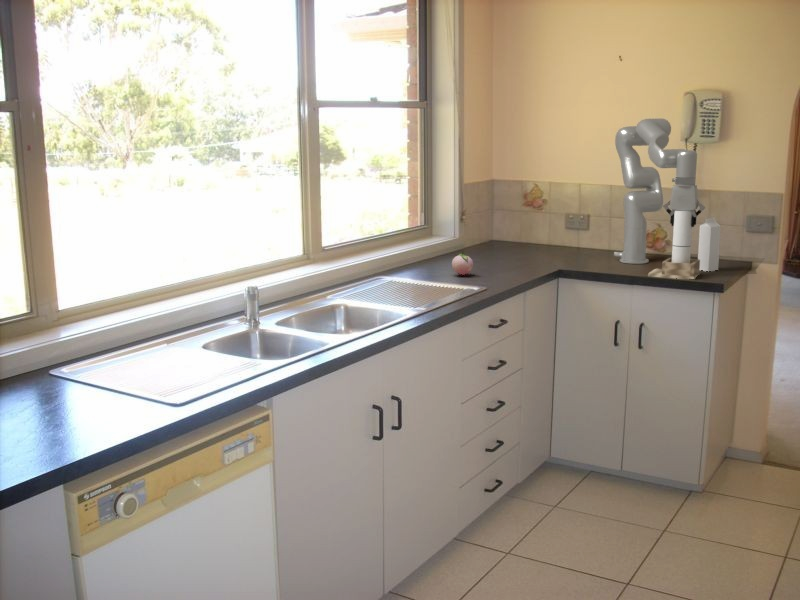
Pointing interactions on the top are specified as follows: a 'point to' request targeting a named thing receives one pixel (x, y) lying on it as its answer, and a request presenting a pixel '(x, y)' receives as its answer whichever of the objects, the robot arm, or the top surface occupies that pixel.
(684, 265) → the board
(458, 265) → the decorative fruit
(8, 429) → the top surface
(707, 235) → the milk
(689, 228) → the cylindrical container
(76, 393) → the top surface
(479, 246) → the top surface
